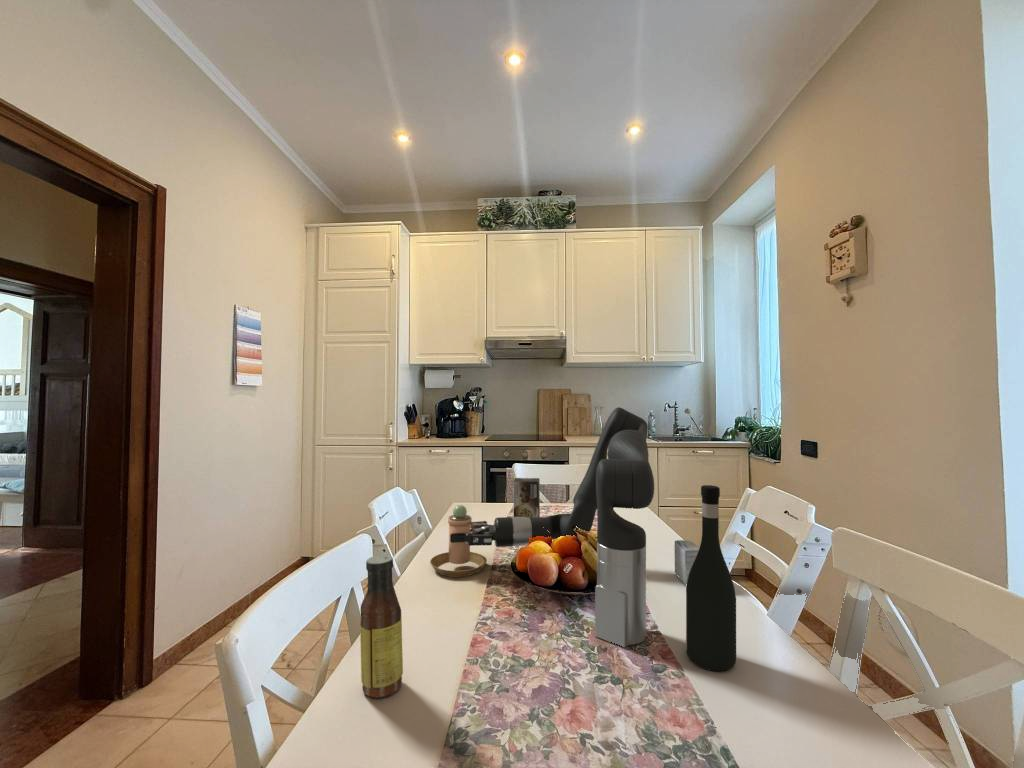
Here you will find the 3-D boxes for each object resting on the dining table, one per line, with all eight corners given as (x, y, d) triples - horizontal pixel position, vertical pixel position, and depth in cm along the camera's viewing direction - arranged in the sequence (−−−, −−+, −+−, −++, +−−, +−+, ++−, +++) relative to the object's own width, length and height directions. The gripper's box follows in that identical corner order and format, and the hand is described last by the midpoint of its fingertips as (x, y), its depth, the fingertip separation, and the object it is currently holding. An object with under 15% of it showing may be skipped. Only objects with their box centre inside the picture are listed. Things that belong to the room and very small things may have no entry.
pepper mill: (458, 566, 118) (459, 509, 119) (442, 560, 122) (443, 505, 123) (475, 559, 123) (476, 505, 123) (459, 554, 127) (460, 501, 127)
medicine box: (703, 586, 112) (703, 550, 112) (684, 586, 112) (684, 549, 112) (691, 573, 120) (691, 539, 120) (674, 573, 120) (674, 539, 120)
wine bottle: (676, 652, 83) (676, 483, 84) (711, 644, 86) (710, 480, 86) (709, 678, 75) (709, 492, 76) (747, 668, 78) (746, 489, 79)
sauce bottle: (409, 679, 75) (411, 554, 75) (389, 704, 69) (391, 568, 69) (373, 672, 76) (375, 550, 77) (350, 696, 70) (352, 563, 71)
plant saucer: (457, 556, 133) (457, 547, 133) (497, 568, 124) (497, 558, 124) (418, 572, 121) (418, 561, 121) (459, 586, 112) (459, 575, 112)
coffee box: (540, 523, 166) (540, 477, 166) (539, 528, 159) (539, 481, 160) (514, 522, 166) (514, 477, 167) (512, 527, 160) (513, 480, 160)
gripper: (508, 510, 132) (449, 512, 130) (517, 524, 118) (450, 527, 115) (508, 537, 132) (449, 540, 129) (517, 554, 118) (450, 557, 115)
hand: (450, 534), depth 122 cm, fingers open, 6 cm apart
